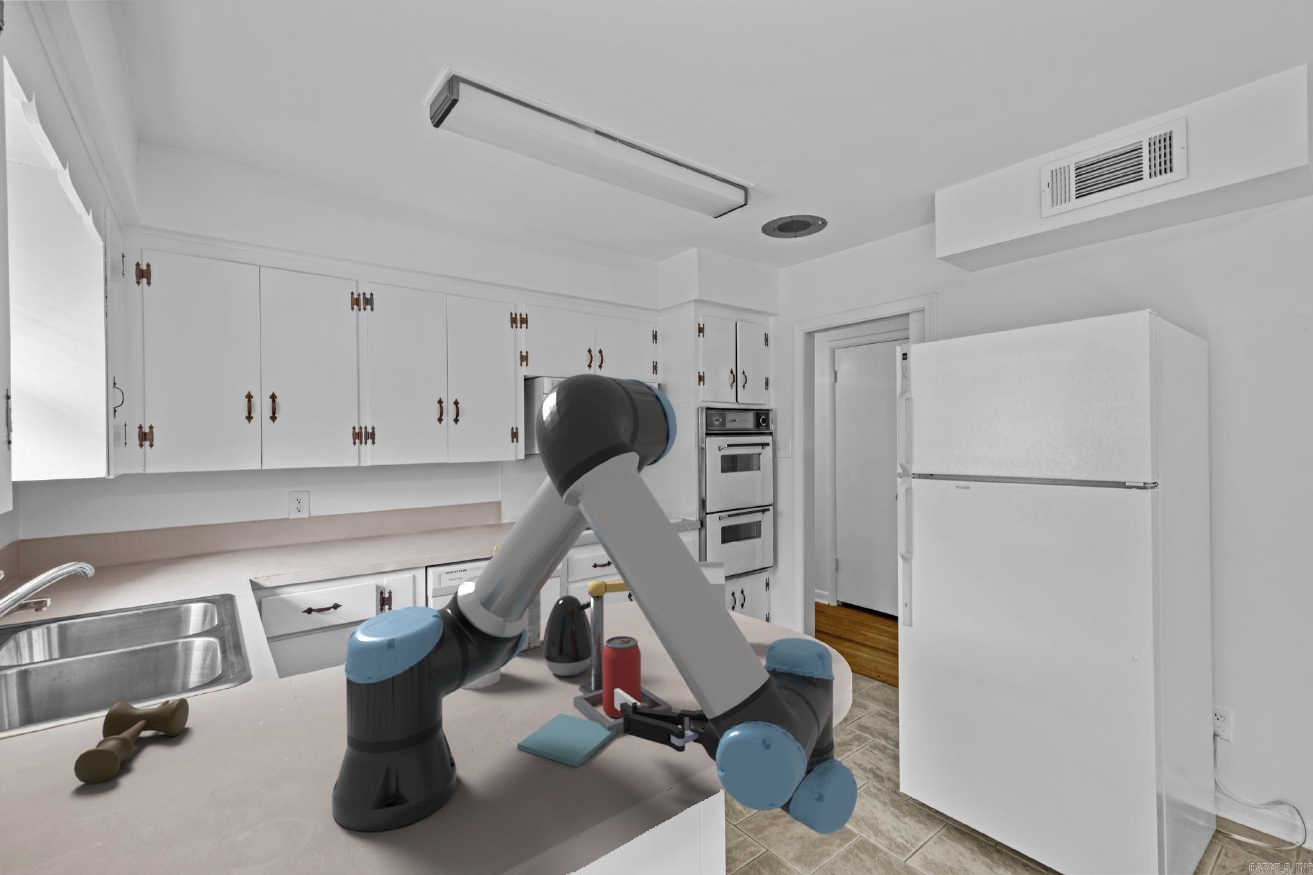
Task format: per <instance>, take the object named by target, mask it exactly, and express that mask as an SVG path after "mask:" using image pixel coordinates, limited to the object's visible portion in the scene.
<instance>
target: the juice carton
mask: <svg viewBox="0 0 1313 875" xmlns="http://www.w3.org/2000/svg"><path fill="white" fill-rule="evenodd" d="M500 545H501V544H500ZM500 545H495V546H494V549H493V550H494V551H493V555H494V554H495V552H496V551H497V550H498V548H499V547H500ZM527 609H528V613H529V620H528V623H527V626H526V628H525V630H526V631H527V634H526V638H525V641H524V644H523V646H522V648H521V650H520V651H519V653H520V652H522V651H526V650H530V649H534V648H537V647H539V646H540V643H541V642H540V641H541V621H542V620H541V618H542V617H541V616H542V614H541V613H542V612H541V591H540V592H539V593H538V594H537V596H536V597H535V598H534V600H533V601H532V602H531V604H530V605H529V607H528V608H527Z"/></svg>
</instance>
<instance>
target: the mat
mask: <svg viewBox="0 0 1313 875" xmlns="http://www.w3.org/2000/svg"><path fill="white" fill-rule="evenodd" d="M615 735H617V733H616V728H615V729H612V730H609V731H607V730H606V729H605V728H604V727H603V726H601V725H600V724H599V723H597V722H593V721H590V720H589V719H586V718H585V719H584V718H581V717H577V716H573V715H569V714H564V713H558V714H557V715H555V717H552V718H551V719H550V720H549V721H547V722H546V723H544V724H543V725H542V726H540V727H538V729H536V730H535V731H533V732H531V734H529V735H528V736H526V737H525V738H523V739H522V740H521V741H519V742H517V747H516V748H517V750H519V751H522V752H526V753H528V754H529V753H530V754H533V755H536V756H539V757H542V758H546V759H549V760H553V761H556V762H558V763H559V762H560V763H562V764H563V763H564V764H566V765H570V766H572V767H576V768H579V767H580V766H582V764H583V763H585V762H586V760H588V759H589V758H590V757H591V756H593V754H595V753H596V752H597V751H598V750H599V749H601V747H602V746H604V744H606V743H607V742H608V741H609V740H610V739H611V738H612V737H614V736H615Z"/></svg>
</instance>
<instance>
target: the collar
mask: <svg viewBox="0 0 1313 875" xmlns="http://www.w3.org/2000/svg"><path fill="white" fill-rule="evenodd" d="M641 701H642V702H644V703H645V704H647V705H648V706H650V707H651V709H655V710H663V711H671V712H673V706H672V705H670V704H669V703H668V702H666V701H664V700H663V699H662V698H661V697H658V696H657V695H655V694H654V693H653V692H652V691H650V690H648V689H646V688H645V687H644V686H642V685H641ZM601 702H603V690H599V691H595V692H592V693H588V694H584V693H583V694H580V695H578V696H574V697H573V707H574V708H575V709H577V711H578V712H580V713H581V714H582V715H583V716H584V717H585V718H587V720H589V721H593V722H597V723H599V724H600V725H601V726H603V727H604V728H605V729H606V730H607V731H609V730H612V729H615V728H616V734H617V733H621V732H623V718H616V719H614V720H609V718H608V717H606V716H605V715H604V714H602V713H601V712H600V711H599V710H598V709H596V707H594V706H593V705H594V704H598V703H601Z"/></svg>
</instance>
